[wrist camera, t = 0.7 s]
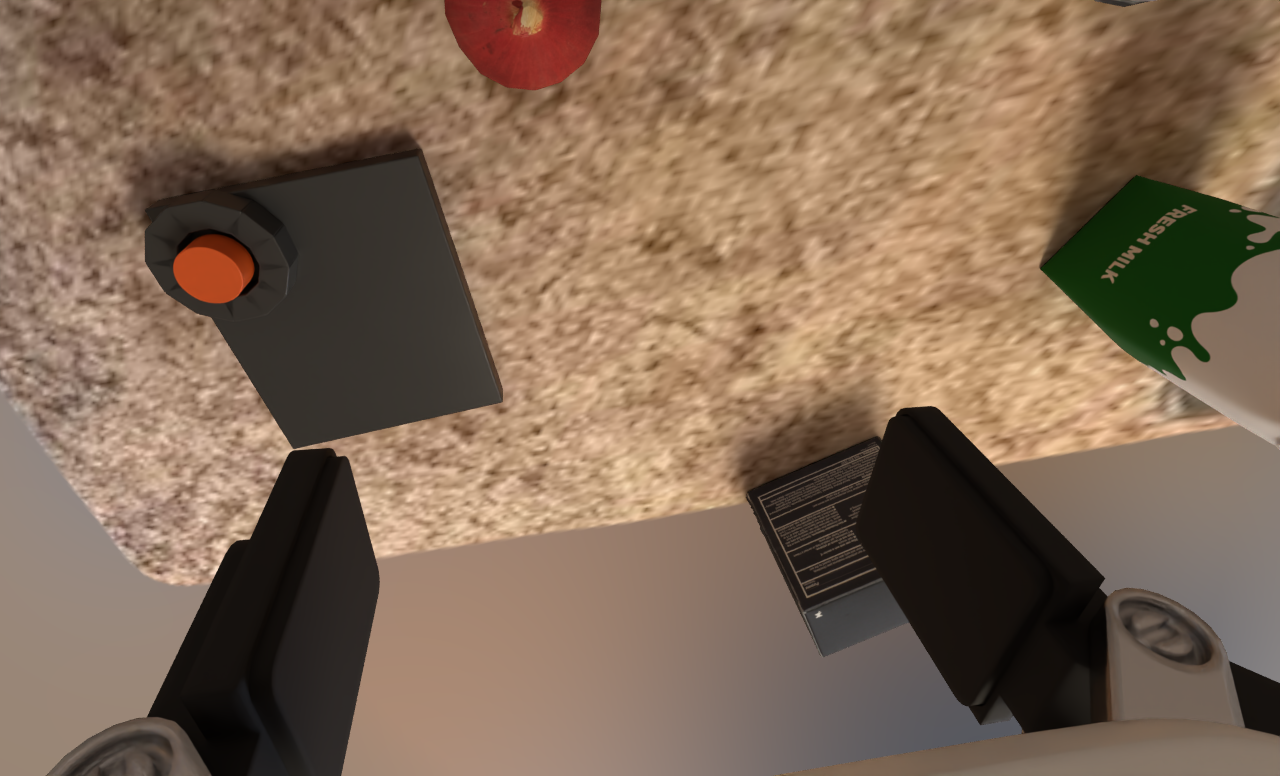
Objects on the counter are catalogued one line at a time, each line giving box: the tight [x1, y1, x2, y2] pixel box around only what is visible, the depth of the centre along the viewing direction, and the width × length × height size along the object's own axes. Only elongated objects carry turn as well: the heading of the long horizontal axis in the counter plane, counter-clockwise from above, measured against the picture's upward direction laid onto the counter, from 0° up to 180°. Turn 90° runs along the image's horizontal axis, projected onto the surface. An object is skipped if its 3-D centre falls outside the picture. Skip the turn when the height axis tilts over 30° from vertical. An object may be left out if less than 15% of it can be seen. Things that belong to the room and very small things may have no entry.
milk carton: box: [1041, 175, 1280, 450], centre depth 32 cm, size 9×9×20 cm
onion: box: [445, 0, 601, 90], centre depth 23 cm, size 6×6×8 cm
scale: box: [145, 148, 503, 449], centre depth 32 cm, size 14×12×3 cm
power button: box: [173, 234, 254, 303], centre depth 27 cm, size 3×3×2 cm
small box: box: [746, 437, 909, 657], centre depth 43 cm, size 11×6×10 cm, turn 112°
